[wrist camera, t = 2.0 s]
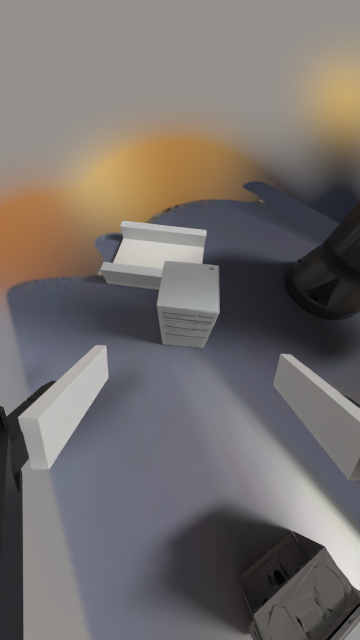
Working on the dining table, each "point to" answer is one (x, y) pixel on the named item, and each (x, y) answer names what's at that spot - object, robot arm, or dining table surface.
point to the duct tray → (151, 253)
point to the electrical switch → (300, 594)
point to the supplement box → (188, 303)
